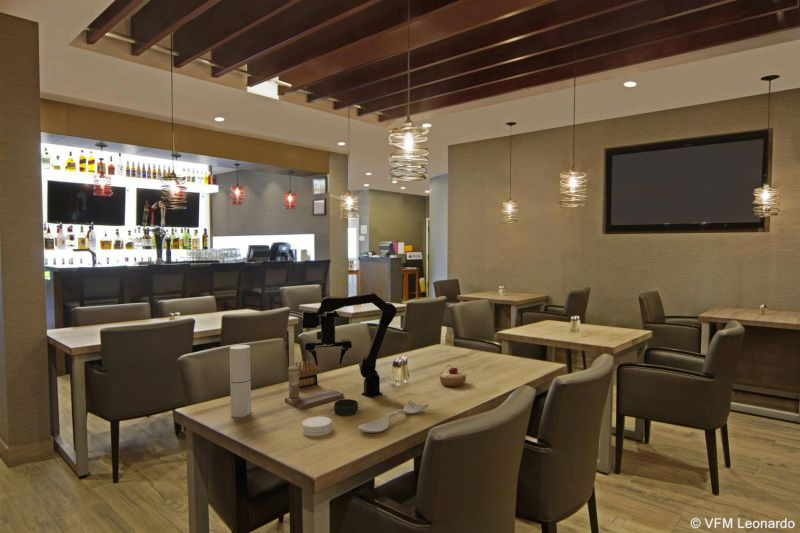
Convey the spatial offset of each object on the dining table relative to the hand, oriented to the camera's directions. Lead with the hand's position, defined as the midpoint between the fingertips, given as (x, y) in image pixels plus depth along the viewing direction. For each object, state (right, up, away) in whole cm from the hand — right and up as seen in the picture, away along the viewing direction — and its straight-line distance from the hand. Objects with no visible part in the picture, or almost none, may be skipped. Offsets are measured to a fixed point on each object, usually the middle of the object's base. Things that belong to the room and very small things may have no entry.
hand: (328, 365), depth 195 cm
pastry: (+53, -12, +18) cm, 57 cm away
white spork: (+27, -15, -27) cm, 41 cm away
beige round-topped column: (-13, -13, -6) cm, 19 cm away
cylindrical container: (-30, -14, -19) cm, 38 cm away
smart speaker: (+9, -14, -18) cm, 25 cm away
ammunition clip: (-12, -13, +14) cm, 23 cm away
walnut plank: (-3, -13, -5) cm, 15 cm away
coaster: (+2, -15, -36) cm, 39 cm away
